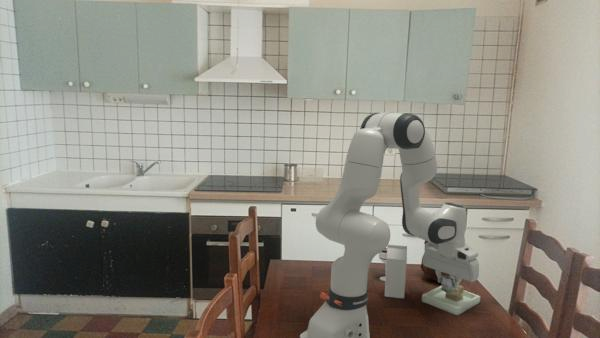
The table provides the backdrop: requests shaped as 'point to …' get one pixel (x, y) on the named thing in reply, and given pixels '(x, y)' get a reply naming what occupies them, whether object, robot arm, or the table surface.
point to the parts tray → (450, 301)
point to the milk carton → (395, 271)
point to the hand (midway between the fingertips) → (448, 285)
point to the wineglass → (383, 260)
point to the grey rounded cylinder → (447, 283)
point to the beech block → (456, 294)
